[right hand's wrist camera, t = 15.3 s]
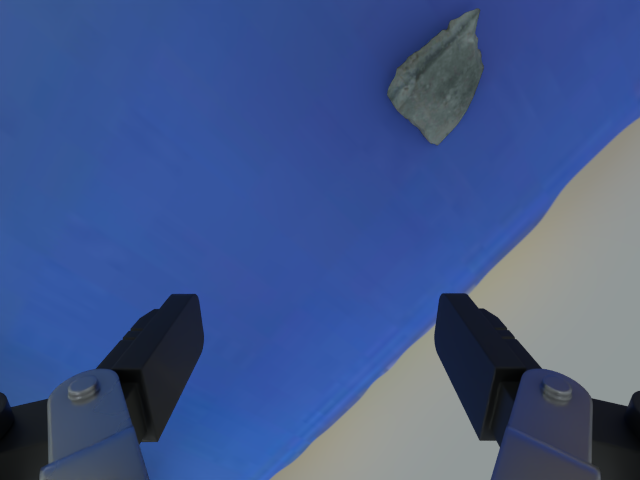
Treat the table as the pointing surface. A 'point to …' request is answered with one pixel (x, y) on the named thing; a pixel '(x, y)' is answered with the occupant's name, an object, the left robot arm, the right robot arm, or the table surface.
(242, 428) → the table surface
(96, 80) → the table surface
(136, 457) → the right robot arm
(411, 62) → the stone
